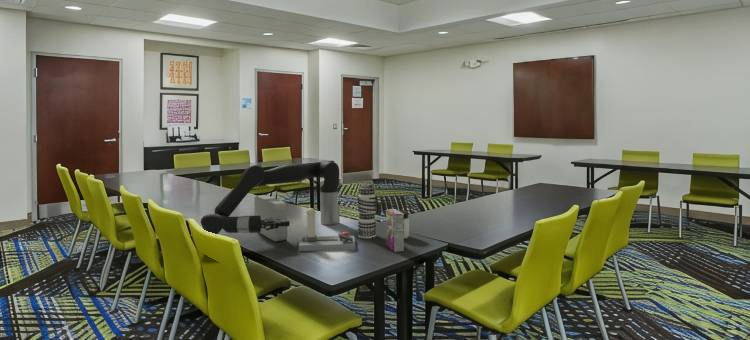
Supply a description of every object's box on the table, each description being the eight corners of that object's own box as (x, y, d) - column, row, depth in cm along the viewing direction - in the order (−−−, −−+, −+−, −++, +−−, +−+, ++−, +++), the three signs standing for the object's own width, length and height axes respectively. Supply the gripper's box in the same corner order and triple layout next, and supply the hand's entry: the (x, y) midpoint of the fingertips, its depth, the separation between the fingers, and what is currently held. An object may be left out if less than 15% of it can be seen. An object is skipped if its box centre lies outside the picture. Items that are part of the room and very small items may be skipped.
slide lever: (316, 238, 209) (315, 207, 208) (315, 240, 205) (315, 209, 203) (307, 238, 209) (306, 207, 208) (306, 241, 205) (305, 209, 203)
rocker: (351, 240, 206) (352, 237, 206) (351, 242, 203) (352, 239, 203) (338, 236, 206) (339, 233, 206) (338, 239, 202) (339, 235, 202)
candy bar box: (385, 245, 208) (385, 209, 206) (396, 244, 209) (396, 208, 207) (393, 252, 197) (393, 214, 195) (404, 251, 199) (404, 213, 197)
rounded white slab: (292, 240, 218) (291, 202, 216) (276, 242, 214) (275, 203, 211) (269, 228, 241) (268, 193, 239) (255, 230, 237) (254, 195, 235)
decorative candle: (374, 233, 230) (374, 182, 227) (378, 238, 221) (378, 185, 218) (356, 234, 228) (355, 183, 225) (359, 239, 219) (358, 186, 216)
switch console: (354, 241, 216) (354, 232, 215) (355, 249, 202) (355, 240, 201) (301, 242, 214) (301, 233, 214) (298, 251, 200) (298, 241, 200)
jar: (388, 238, 220) (388, 213, 219) (393, 234, 228) (393, 209, 227) (407, 239, 218) (407, 214, 216) (410, 235, 225) (411, 210, 224)
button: (346, 235, 214) (345, 231, 214) (351, 237, 212) (351, 232, 212) (339, 237, 212) (339, 232, 212) (345, 238, 209) (345, 234, 209)
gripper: (245, 219, 198) (287, 218, 199) (251, 212, 211) (290, 211, 212) (246, 236, 198) (287, 235, 200) (252, 229, 212) (291, 228, 213)
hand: (289, 223), depth 206 cm, fingers closed
